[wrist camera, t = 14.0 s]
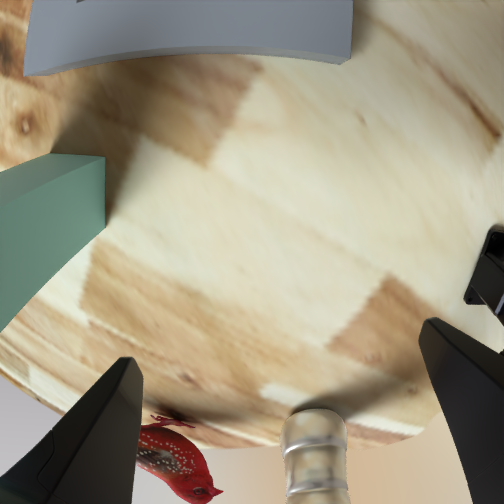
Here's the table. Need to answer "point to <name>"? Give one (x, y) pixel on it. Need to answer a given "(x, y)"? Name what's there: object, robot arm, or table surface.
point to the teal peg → (45, 221)
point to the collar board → (183, 30)
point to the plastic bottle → (315, 457)
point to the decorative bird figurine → (175, 461)
